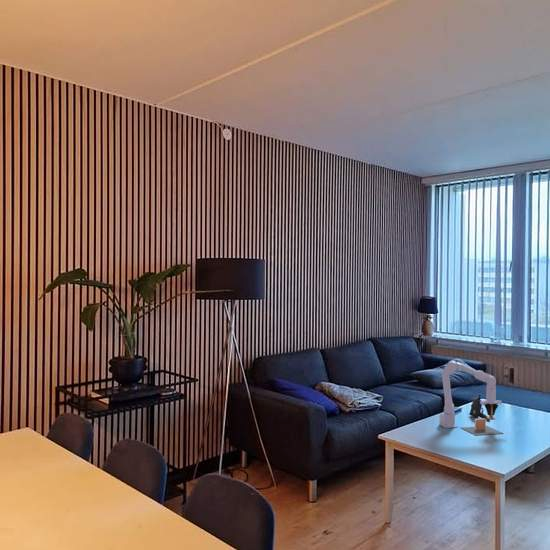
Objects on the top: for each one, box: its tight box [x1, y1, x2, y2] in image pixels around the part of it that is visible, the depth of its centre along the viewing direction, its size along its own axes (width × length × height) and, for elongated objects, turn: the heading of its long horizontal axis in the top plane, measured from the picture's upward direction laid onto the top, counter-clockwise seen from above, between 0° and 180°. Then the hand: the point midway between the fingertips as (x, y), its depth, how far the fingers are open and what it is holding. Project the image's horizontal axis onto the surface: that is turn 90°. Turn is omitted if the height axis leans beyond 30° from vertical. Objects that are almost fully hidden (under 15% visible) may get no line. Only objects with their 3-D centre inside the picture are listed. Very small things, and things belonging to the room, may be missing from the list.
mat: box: [460, 425, 504, 437], centre depth 319 cm, size 20×16×1 cm
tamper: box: [487, 404, 496, 421], centre depth 320 cm, size 4×4×10 cm
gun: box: [468, 394, 490, 422], centre depth 347 cm, size 3×17×15 cm
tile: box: [474, 418, 487, 430], centre depth 321 cm, size 7×2×7 cm, turn 103°
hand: (490, 415), depth 320 cm, fingers closed on tamper, 2 cm apart
